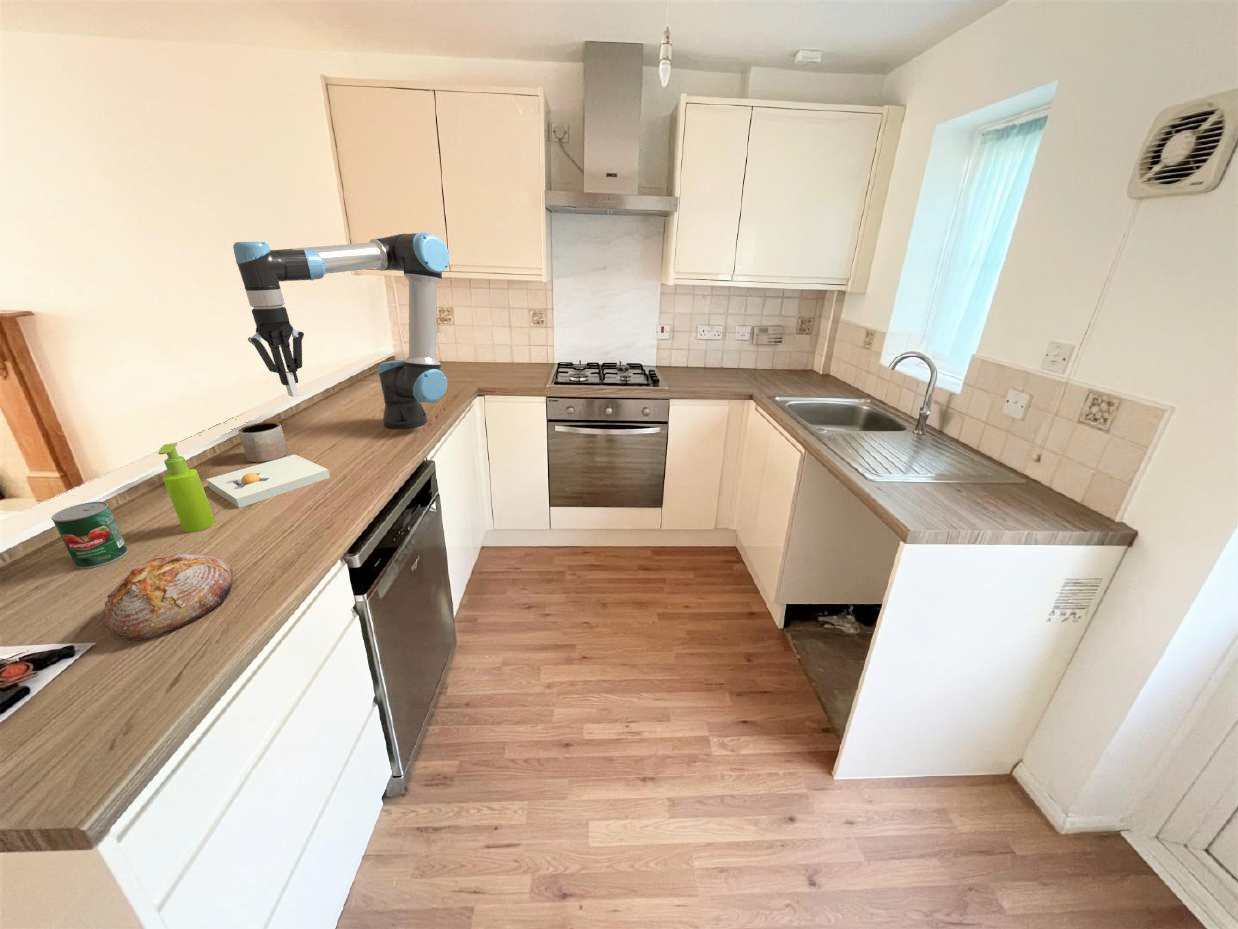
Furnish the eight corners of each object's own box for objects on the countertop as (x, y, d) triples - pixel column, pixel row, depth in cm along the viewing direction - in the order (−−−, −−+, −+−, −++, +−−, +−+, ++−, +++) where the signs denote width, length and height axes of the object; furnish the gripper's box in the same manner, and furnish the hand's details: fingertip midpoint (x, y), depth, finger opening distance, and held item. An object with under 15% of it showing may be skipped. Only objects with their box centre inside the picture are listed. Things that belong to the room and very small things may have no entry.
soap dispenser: (178, 536, 109) (144, 452, 101) (187, 523, 114) (155, 442, 106) (211, 530, 111) (180, 448, 103) (218, 517, 117) (189, 438, 109)
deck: (297, 461, 148) (294, 454, 147) (330, 477, 138) (328, 469, 137) (209, 487, 132) (206, 479, 131) (239, 508, 121) (236, 499, 120)
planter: (239, 460, 150) (229, 430, 146) (273, 448, 159) (265, 420, 155) (263, 465, 146) (253, 435, 142) (297, 453, 155) (289, 424, 151)
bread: (86, 659, 77) (52, 608, 73) (159, 584, 95) (135, 540, 91) (204, 635, 81) (178, 586, 77) (254, 567, 98) (235, 524, 94)
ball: (250, 488, 132) (259, 475, 134) (256, 492, 130) (266, 479, 132) (235, 481, 129) (245, 468, 131) (241, 485, 127) (251, 472, 128)
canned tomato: (82, 573, 96) (57, 524, 92) (70, 561, 100) (45, 513, 96) (134, 554, 102) (113, 507, 98) (121, 543, 106) (100, 498, 102)
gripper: (288, 303, 134) (311, 388, 143) (233, 308, 124) (261, 399, 133) (301, 305, 130) (324, 392, 139) (246, 310, 120) (274, 403, 130)
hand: (293, 395), depth 136 cm, fingers closed
